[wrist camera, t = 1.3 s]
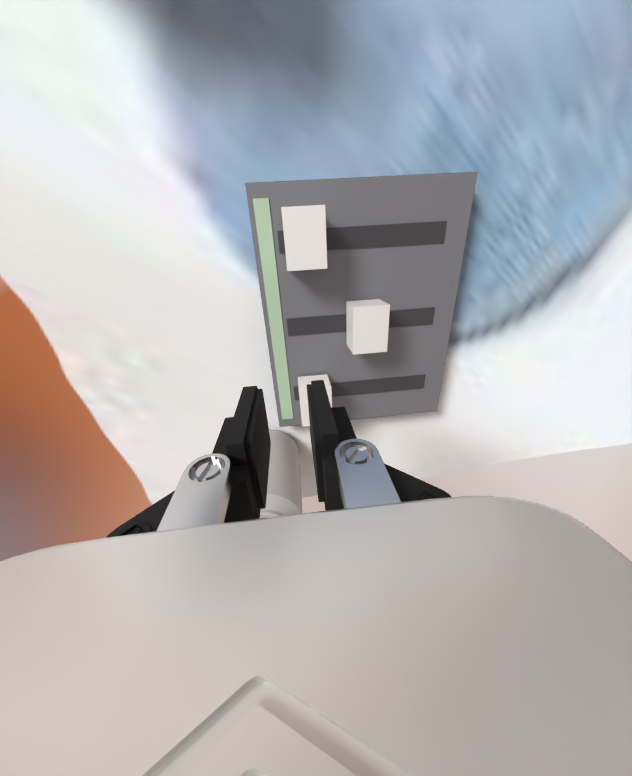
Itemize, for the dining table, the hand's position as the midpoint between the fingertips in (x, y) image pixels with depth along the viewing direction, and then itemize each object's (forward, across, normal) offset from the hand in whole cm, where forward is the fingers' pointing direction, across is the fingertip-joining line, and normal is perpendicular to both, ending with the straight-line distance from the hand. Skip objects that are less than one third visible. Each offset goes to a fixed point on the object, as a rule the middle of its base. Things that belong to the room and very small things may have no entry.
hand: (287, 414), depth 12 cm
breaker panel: (+17, -7, 0) cm, 19 cm away
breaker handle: (+15, -7, 0) cm, 16 cm away
